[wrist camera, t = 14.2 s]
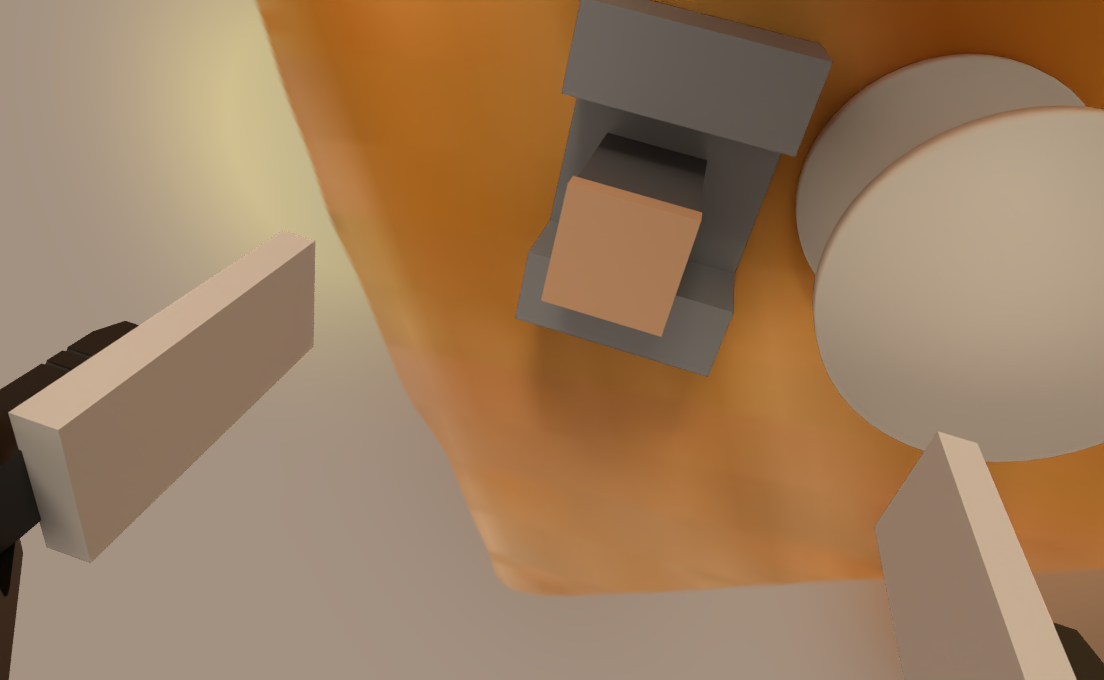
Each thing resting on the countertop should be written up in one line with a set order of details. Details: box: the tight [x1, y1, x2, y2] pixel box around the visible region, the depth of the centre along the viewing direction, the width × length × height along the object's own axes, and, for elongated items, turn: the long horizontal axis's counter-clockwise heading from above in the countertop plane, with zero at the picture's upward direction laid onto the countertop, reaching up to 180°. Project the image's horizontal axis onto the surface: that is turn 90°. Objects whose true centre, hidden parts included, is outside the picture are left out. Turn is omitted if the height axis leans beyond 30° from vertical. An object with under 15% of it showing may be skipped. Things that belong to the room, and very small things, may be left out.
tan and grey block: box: [541, 133, 707, 337], centre depth 26 cm, size 4×4×7 cm
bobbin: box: [795, 54, 1104, 462], centre depth 23 cm, size 10×10×10 cm
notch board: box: [515, 0, 833, 377], centre depth 27 cm, size 12×8×4 cm, turn 168°
